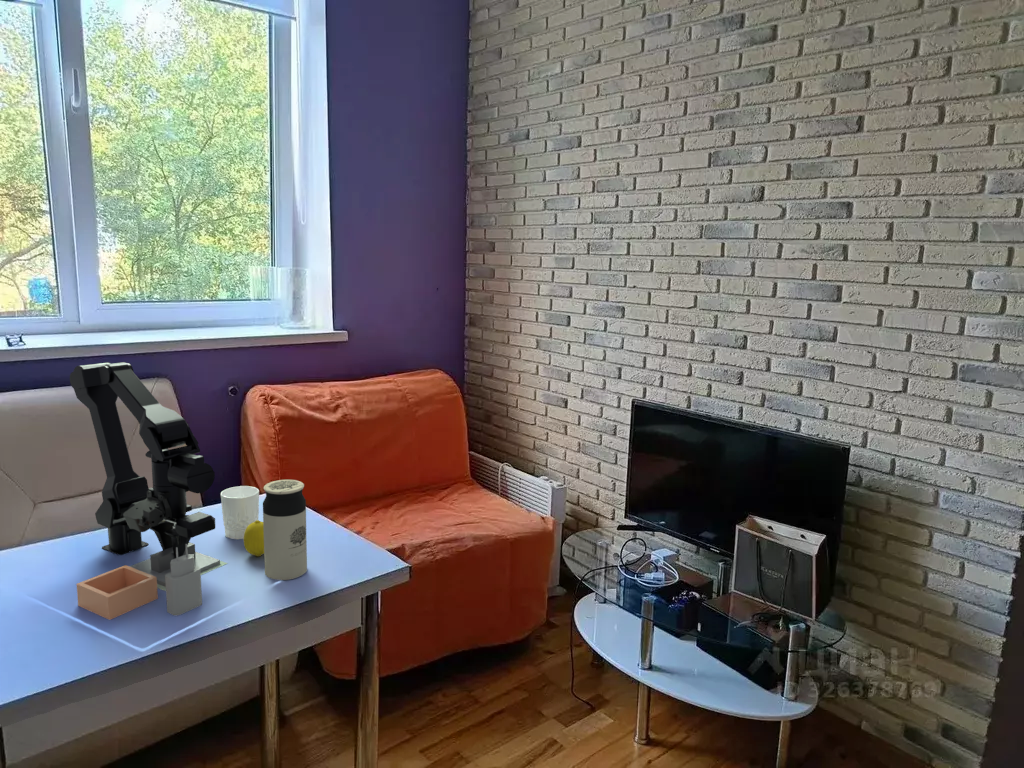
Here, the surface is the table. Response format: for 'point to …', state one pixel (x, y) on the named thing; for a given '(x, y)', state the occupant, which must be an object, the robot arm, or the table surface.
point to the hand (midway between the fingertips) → (173, 558)
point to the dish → (117, 591)
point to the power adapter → (183, 585)
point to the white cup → (239, 509)
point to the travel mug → (284, 530)
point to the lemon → (254, 538)
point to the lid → (161, 564)
